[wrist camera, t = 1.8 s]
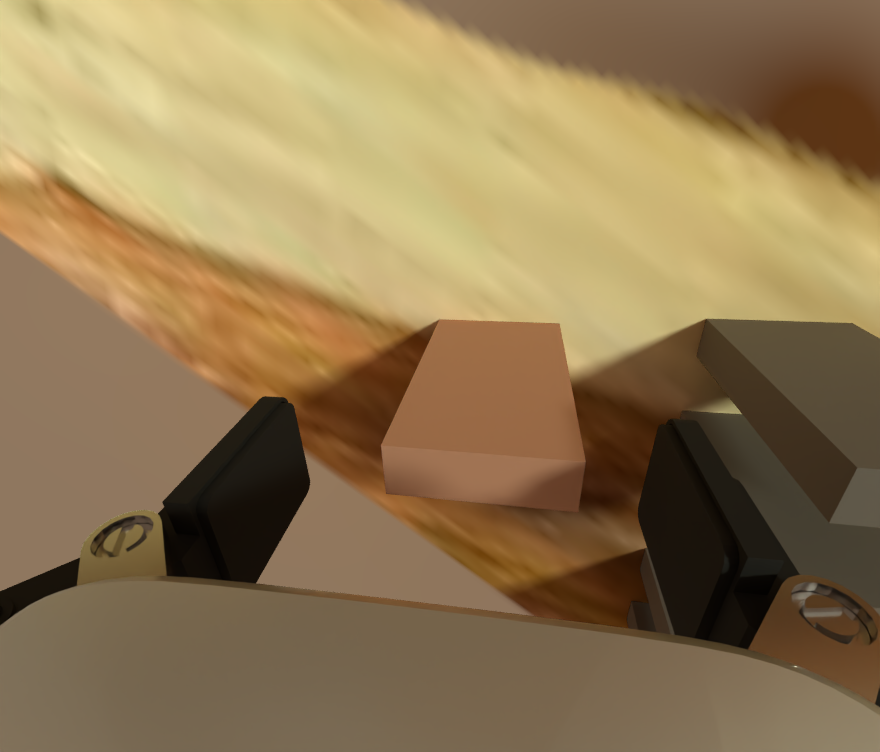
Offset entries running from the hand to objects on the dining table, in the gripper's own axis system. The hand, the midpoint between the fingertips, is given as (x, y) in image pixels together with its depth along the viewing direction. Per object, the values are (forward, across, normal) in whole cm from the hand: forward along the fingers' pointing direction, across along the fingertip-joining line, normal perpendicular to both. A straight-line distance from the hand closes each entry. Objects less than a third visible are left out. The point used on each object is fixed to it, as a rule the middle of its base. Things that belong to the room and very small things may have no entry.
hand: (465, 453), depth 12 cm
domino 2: (+8, -11, 0) cm, 14 cm away
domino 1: (+8, 0, 0) cm, 9 cm away
